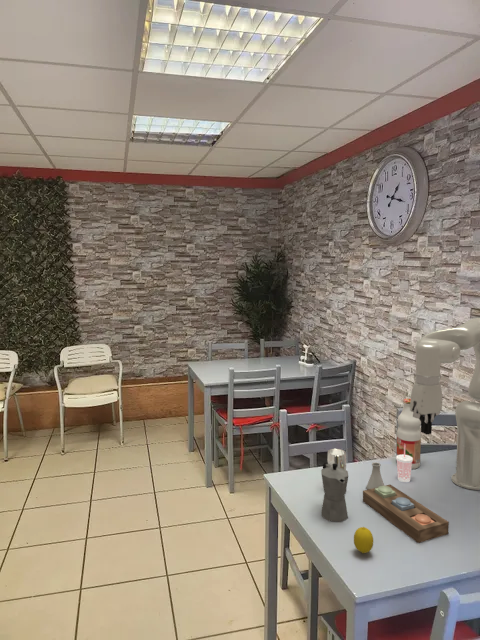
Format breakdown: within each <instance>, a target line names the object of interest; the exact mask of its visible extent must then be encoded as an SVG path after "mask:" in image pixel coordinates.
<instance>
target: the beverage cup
mask: <svg viewBox="0 0 480 640" xmlns="http://www.w3.org/2000/svg"><path fill="white" fill-rule="evenodd" d="M396 459H397V461H396V466H397V467H396V468H397V480H398V481H399V482H401V483H410V481H411V475H412V474H411V473H412V469H411V466H412V461H413V458H412V457H411V456H409V455H405V445H404V455H403V454H402V455H397V454H396Z"/></svg>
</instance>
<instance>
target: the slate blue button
mask: <svg viewBox="0 0 480 640" xmlns="http://www.w3.org/2000/svg"><path fill="white" fill-rule="evenodd" d="M392 505H394V506H395V507H396V508H398V509H399V510H401V511H405V510H409V509H413V508H414V504H413V503H411V502H410V500H409V499H407V498H403V497H399V498H396V500H392Z"/></svg>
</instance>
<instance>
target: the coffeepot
mask: <svg viewBox="0 0 480 640" xmlns="http://www.w3.org/2000/svg"><path fill="white" fill-rule="evenodd" d="M332 465H333V467H331V465H330V464H328V463H327V461H325V462H324V463H323V464H322V468H321V470H320V472H321V480H322V486H323V488H322V489H323V492H324V495H323V500H322V505H321V511H320V512H321V517H322V519H325V520H326V521H328V522H332V523H341V522H345V521H346V520H347V519H349V517H348V510H347V502H346V495H345V494H346V493H347V486H348V480H349V471H348V470H344V469H342V468H340V467H337V464H332Z"/></svg>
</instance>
